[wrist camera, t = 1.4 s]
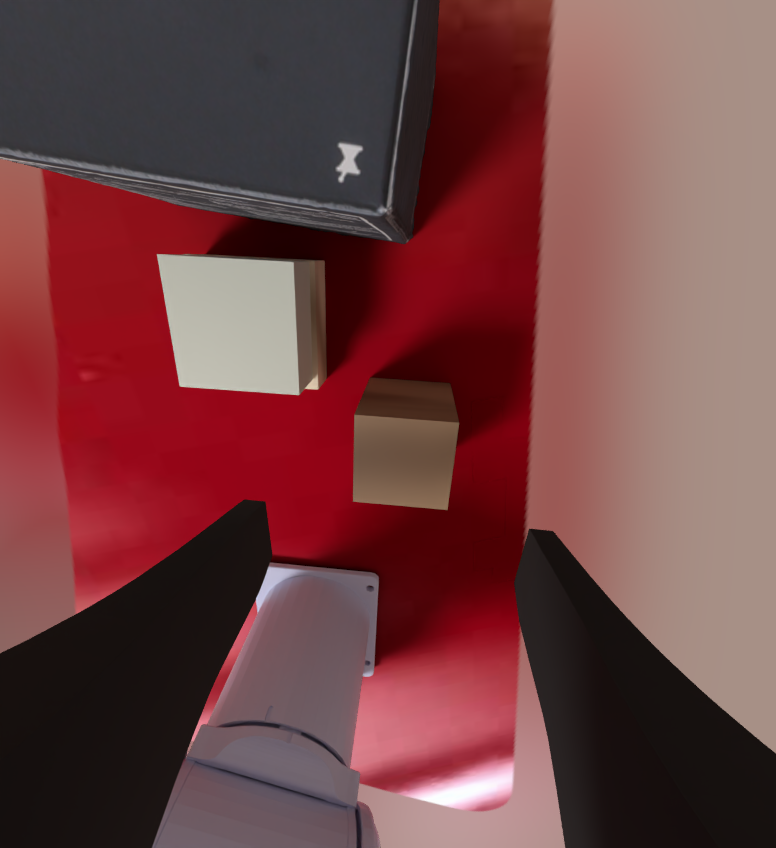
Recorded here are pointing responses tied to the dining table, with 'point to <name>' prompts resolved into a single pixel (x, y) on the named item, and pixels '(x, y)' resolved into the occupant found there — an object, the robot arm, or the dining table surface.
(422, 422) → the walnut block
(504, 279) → the dining table surface
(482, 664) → the dining table surface
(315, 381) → the tower base
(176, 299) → the tower top
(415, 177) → the small box
